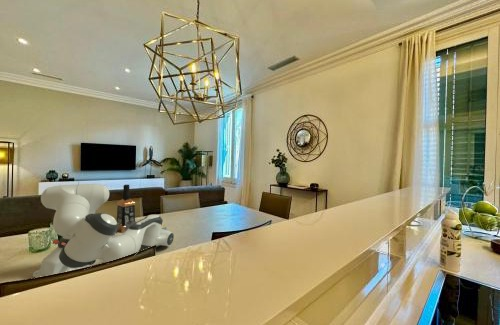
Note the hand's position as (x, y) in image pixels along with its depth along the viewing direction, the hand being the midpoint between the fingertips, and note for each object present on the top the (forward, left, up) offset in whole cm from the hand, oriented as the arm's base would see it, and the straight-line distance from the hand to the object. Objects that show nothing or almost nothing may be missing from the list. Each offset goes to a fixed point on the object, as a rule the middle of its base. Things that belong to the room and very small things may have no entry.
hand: (134, 230), depth 137 cm
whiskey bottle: (+10, +20, -5) cm, 23 cm away
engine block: (0, +2, -5) cm, 6 cm away
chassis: (+17, +1, -5) cm, 17 cm away
